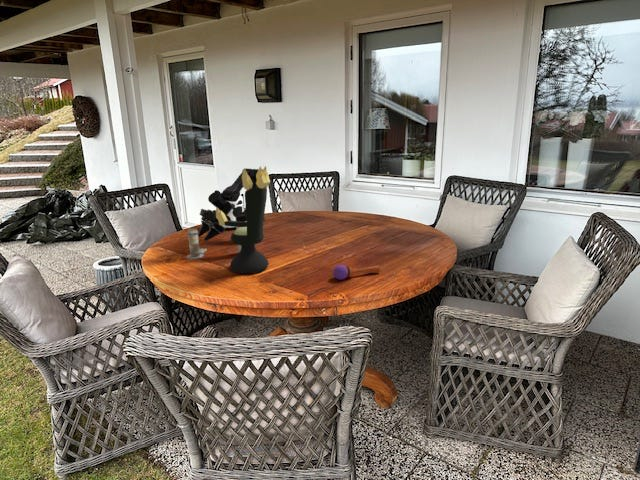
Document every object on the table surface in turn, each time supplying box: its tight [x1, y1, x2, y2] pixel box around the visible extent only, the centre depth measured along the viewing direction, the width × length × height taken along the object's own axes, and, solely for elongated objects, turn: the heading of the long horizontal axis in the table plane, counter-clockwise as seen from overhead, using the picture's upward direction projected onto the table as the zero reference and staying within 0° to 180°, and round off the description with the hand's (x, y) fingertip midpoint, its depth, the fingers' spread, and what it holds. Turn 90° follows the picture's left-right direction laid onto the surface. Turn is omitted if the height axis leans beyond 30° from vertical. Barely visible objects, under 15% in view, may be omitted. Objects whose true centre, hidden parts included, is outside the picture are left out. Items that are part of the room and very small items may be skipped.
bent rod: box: [199, 248, 208, 254], centre depth 210 cm, size 7×5×1 cm
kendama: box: [332, 264, 381, 281], centre depth 173 cm, size 6×6×20 cm
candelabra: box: [215, 165, 271, 275], centre depth 178 cm, size 19×22×45 cm
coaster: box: [186, 253, 205, 260], centre depth 203 cm, size 8×8×1 cm
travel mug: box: [235, 213, 247, 254], centre depth 202 cm, size 6×7×20 cm
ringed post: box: [186, 227, 200, 257], centre depth 201 cm, size 5×5×13 cm
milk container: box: [222, 195, 245, 230], centre depth 253 cm, size 17×17×18 cm
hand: (201, 238), depth 202 cm, fingers open, 9 cm apart
